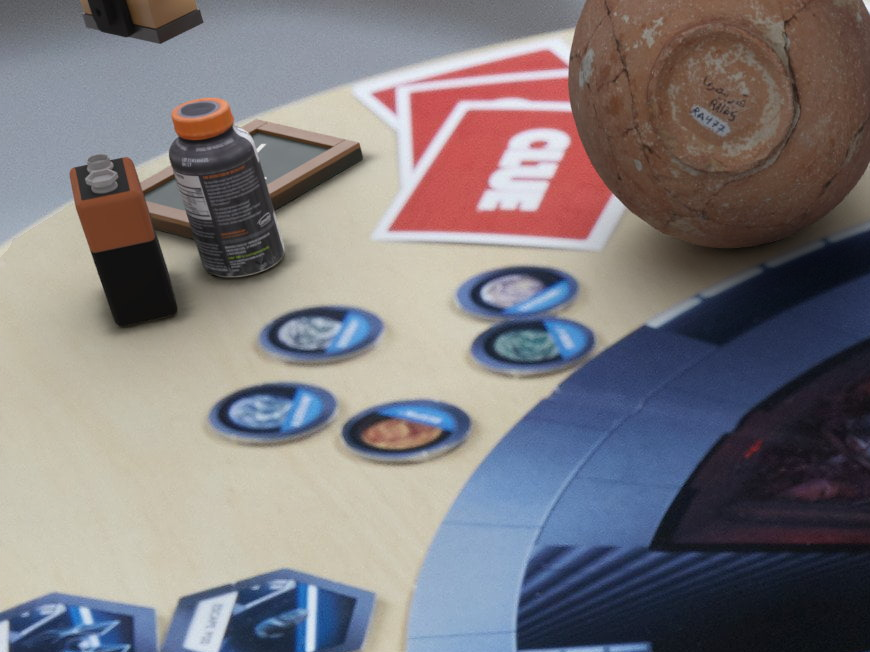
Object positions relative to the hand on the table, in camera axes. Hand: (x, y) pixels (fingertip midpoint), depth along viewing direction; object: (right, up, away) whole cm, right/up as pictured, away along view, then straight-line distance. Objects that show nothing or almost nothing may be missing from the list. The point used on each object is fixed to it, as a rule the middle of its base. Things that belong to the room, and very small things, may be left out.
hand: (142, 17), depth 170 cm
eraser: (0, 0, 0) cm, 1 cm away
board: (+3, -8, +12) cm, 15 cm away
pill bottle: (+6, -17, +3) cm, 18 cm away
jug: (+43, -12, -15) cm, 47 cm away
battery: (+1, -21, -1) cm, 21 cm away
